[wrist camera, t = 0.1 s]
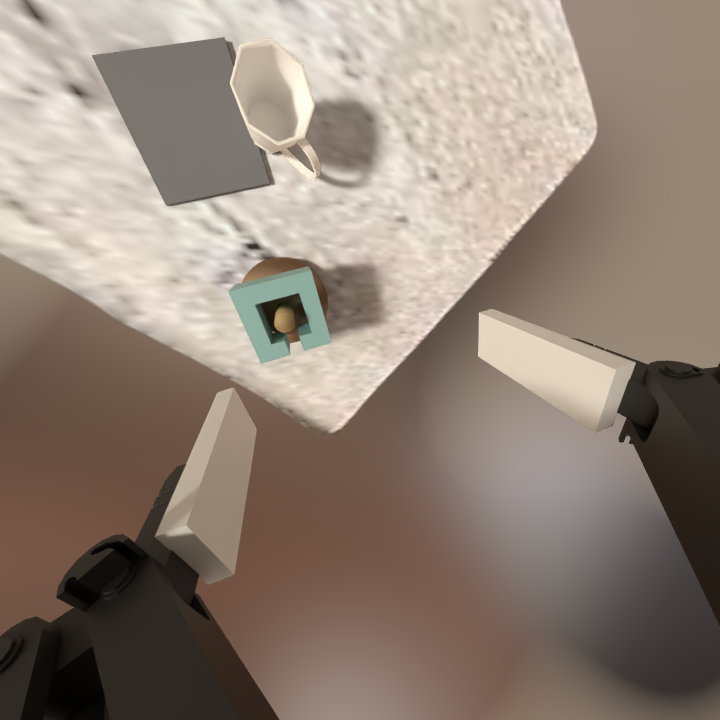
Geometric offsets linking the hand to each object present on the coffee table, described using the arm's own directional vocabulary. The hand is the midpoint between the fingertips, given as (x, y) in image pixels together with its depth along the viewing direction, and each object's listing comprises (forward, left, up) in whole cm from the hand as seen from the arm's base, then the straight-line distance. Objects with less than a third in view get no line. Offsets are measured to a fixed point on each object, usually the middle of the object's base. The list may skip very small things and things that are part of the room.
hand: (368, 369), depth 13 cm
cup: (-16, 0, -28) cm, 32 cm away
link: (+2, -5, -23) cm, 23 cm away
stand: (+2, -5, -28) cm, 28 cm away
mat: (-18, -8, -28) cm, 34 cm away
